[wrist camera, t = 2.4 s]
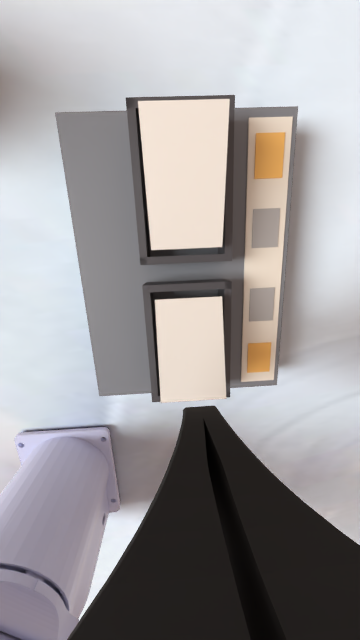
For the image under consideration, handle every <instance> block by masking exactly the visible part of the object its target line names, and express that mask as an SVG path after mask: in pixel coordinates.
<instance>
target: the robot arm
mask: <svg viewBox="0 0 360 640" xmlns="http://www.w3.org/2000/svg"><path fill="white" fill-rule="evenodd" d="M102 437H105V438H106V439H104V438H102ZM14 441H15V445H16V448H17V452H18V455H19V459H20V462H21V467H20V468H19V470H18V471H17V472H16V474H15V475H14V476H13V478H12V479H11V480H10V482H9V483H8V485H7V486H6V487H5V489H4V490H3V491H2V493H1V494H0V640H360V545H358V544H357V543H356V542H354V541H353V540H351V539H350V538H349V537H347V536H346V535H345V534H343V533H342V532H341V531H339V530H338V529H337V528H336V527H334V526H333V525H332V524H331V523H329V522H328V521H327V520H326V519H324V518H323V517H322V516H321V515H319V514H318V513H317V512H316V511H314V510H313V509H312V508H311V507H309V506H308V505H307V504H306V503H304V502H303V501H302V500H301V499H300V498H299V497H298V496H296V495H295V494H294V493H293V492H292V491H291V490H290V489H288V488H287V487H286V486H285V485H284V484H283V483H282V482H281V481H280V480H279V479H278V478H277V477H276V476H274V475H273V474H272V473H271V472H270V471H269V470H268V469H267V468H266V467H265V466H264V465H263V464H262V462H261V461H260V460H259V459H258V458H257V457H256V456H255V455H254V454H253V453H252V452H251V451H250V450H249V448H248V447H247V446H246V445H245V444H244V443H243V442H242V440H241V439H240V438H239V437H238V436H237V434H236V433H235V432H234V431H233V429H232V428H231V427H230V426H229V424H228V423H227V422H226V420H225V419H224V418H223V416H222V415H221V413H220V412H219V411H218V409H217V408H216V407H215V406H203V407H187V408H185V409H184V410H183V419H182V425H181V429H180V433H179V437H178V440H177V443H176V447H175V450H174V452H173V455H172V458H171V460H170V463H169V466H168V468H167V471H166V473H165V476H164V478H163V480H162V483H161V485H160V487H159V489H158V491H157V493H156V495H155V498H154V500H153V501H152V503H151V505H150V507H149V509H148V511H147V513H146V515H145V517H144V519H143V521H142V523H141V524H140V526H139V528H138V530H137V532H136V533H135V535H134V537H133V538H132V540H131V542H130V543H129V545H128V547H127V548H126V550H125V552H124V553H123V555H122V557H121V558H120V560H119V562H118V563H117V565H116V567H115V568H114V570H113V571H112V573H111V575H110V576H109V578H108V579H107V581H106V582H105V584H104V585H103V587H102V588H101V590H100V591H99V593H98V594H97V596H96V597H95V599H94V600H93V602H92V603H91V605H90V606H89V607H88V609H87V610H86V612H85V613H84V615H83V616H82V618H81V619H80V621H79V619H78V618H79V616H80V614H81V612H82V610H83V608H84V606H85V603H86V601H87V598H88V595H89V591H90V587H91V583H92V579H93V575H94V571H95V567H96V563H97V559H98V555H99V551H100V547H101V543H102V538H103V534H104V530H105V526H106V522H107V518H108V514H109V512H117V511H118V510H119V509H120V498H119V491H118V485H117V478H116V471H115V465H114V458H113V451H112V445H111V438H110V431H109V429H108V428H106V427H96V428H81V429H66V430H51V431H36V432H21V433H18V434H17V435H16V436H15V438H14Z"/></svg>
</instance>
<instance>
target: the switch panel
mask: <svg viewBox="0 0 360 640" xmlns="http://www.w3.org/2000/svg"><path fill="white" fill-rule="evenodd" d="M203 99H230V104H229V124H228V144H227V163H226V183H225V203H224V223H223V243H222V247H212V248H189V249H166V250H151V242H150V231H149V220H148V208H147V197H146V186H145V175H144V164H143V153H142V142H141V130H140V119H139V108H138V101H161V100H203ZM126 106H127V111H99V112H59V113H55V114H56V121H57V127H58V133H59V140H60V146H61V153H62V159H63V165H64V172H65V178H66V185H67V191H68V197H69V204H70V210H71V217H72V223H73V229H74V236H75V242H76V249H77V255H78V261H79V268H80V274H81V281H82V287H83V293H84V300H85V306H86V313H87V319H88V325H89V332H90V338H91V345H92V351H93V358H94V364H95V370H96V377H97V383H98V390H99V396H110V395H126V394H142V393H152V402H161V398H160V380H159V363H158V345H157V328H156V310H155V300H161V299H180V298H200V297H220V296H222V307H223V330H224V354H225V378H226V397H230V388H238V387H254V386H269V385H277V375H278V362H279V349H280V335H281V322H282V309H283V296H284V283H285V270H286V257H287V244H288V231H289V218H290V205H291V192H292V179H293V166H294V152H295V139H296V126H297V113H298V106H297V107H258V108H235V95H218V96H175V97H133V98H126Z"/></svg>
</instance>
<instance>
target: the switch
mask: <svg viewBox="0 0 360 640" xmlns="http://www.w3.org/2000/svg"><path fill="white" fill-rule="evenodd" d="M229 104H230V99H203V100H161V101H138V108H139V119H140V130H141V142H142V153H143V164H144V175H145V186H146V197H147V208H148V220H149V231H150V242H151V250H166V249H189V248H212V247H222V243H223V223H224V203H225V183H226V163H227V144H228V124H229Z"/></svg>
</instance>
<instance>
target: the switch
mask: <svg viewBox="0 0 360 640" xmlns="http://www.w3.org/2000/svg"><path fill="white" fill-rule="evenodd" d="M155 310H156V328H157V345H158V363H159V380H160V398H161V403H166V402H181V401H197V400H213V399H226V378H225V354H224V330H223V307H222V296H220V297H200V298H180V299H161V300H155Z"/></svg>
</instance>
